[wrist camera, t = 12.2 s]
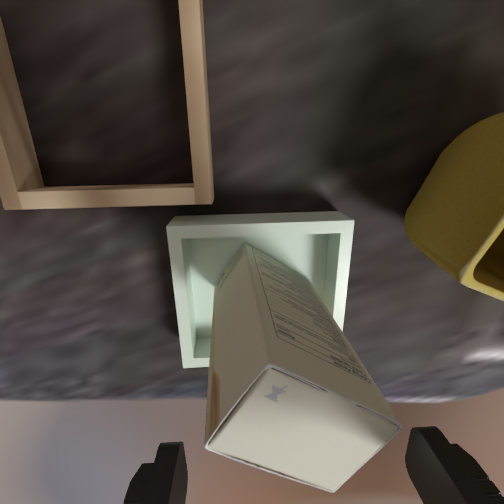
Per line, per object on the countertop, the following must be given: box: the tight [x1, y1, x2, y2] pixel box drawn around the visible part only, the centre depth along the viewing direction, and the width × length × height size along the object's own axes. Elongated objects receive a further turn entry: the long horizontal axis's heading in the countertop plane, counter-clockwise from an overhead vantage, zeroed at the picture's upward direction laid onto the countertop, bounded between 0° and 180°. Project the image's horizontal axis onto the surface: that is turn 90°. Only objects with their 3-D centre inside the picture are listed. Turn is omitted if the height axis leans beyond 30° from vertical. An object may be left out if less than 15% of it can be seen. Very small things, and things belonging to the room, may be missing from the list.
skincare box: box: [204, 243, 402, 492], centre depth 16 cm, size 6×4×12 cm
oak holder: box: [0, 0, 214, 210], centre depth 16 cm, size 12×13×2 cm
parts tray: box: [166, 211, 354, 368], centre depth 21 cm, size 12×11×3 cm
